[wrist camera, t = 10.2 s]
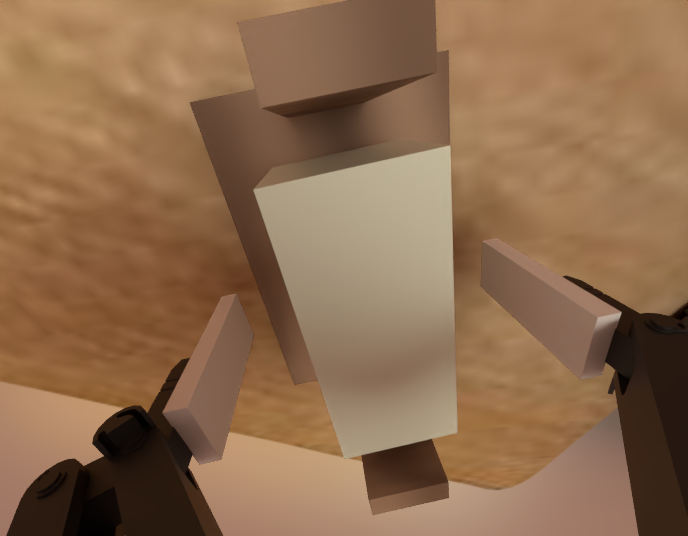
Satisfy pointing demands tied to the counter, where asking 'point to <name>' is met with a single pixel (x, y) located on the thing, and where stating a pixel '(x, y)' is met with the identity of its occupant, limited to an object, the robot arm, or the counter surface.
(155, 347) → the counter surface
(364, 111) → the peg frame
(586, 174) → the counter surface
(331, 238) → the cream rectangular block
